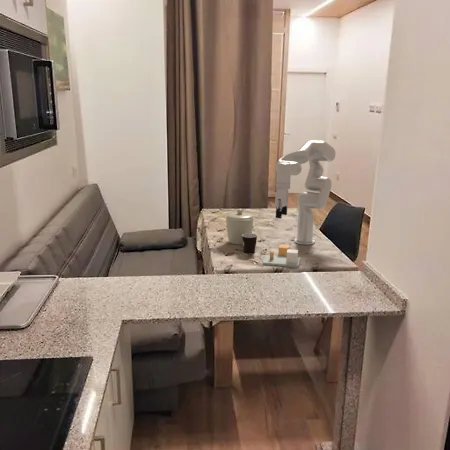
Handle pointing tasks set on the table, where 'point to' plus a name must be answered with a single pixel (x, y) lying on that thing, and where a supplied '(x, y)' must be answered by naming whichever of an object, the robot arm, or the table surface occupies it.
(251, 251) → the coffee mug
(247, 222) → the canister
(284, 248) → the tan wooden cube
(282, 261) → the junction board
